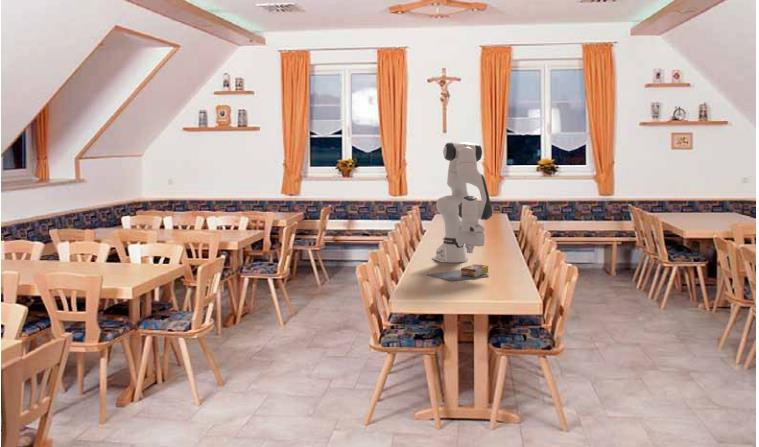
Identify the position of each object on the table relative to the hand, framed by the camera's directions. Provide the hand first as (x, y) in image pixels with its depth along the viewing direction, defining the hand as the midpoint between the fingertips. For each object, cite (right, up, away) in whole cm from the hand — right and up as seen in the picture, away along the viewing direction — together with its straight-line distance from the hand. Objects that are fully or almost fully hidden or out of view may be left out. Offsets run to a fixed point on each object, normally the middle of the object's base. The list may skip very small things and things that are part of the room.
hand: (469, 252), depth 412 cm
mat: (-7, -12, -3) cm, 14 cm away
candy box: (+7, -9, +5) cm, 12 cm away
